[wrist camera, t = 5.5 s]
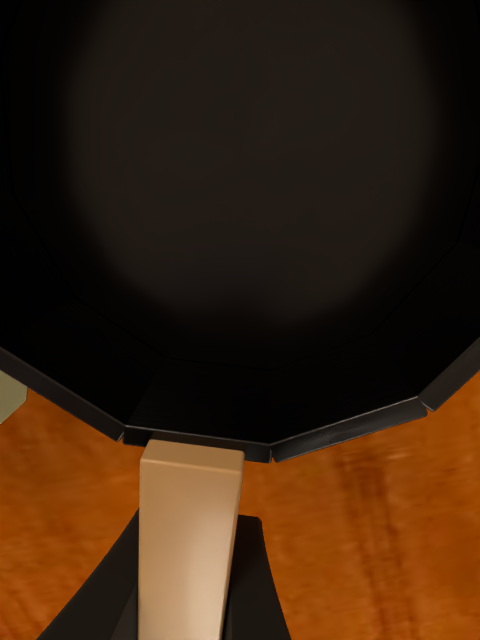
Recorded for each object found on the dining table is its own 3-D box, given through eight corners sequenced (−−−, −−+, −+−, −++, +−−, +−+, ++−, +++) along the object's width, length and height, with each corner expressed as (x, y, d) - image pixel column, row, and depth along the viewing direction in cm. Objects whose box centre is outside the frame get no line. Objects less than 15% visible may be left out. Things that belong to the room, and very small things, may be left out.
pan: (-26, -197, 6) (-398, -680, 3) (579, -150, 6) (1024, -633, 2) (47, 550, 12) (-45, 702, 8) (358, 594, 12) (396, 771, 8)
